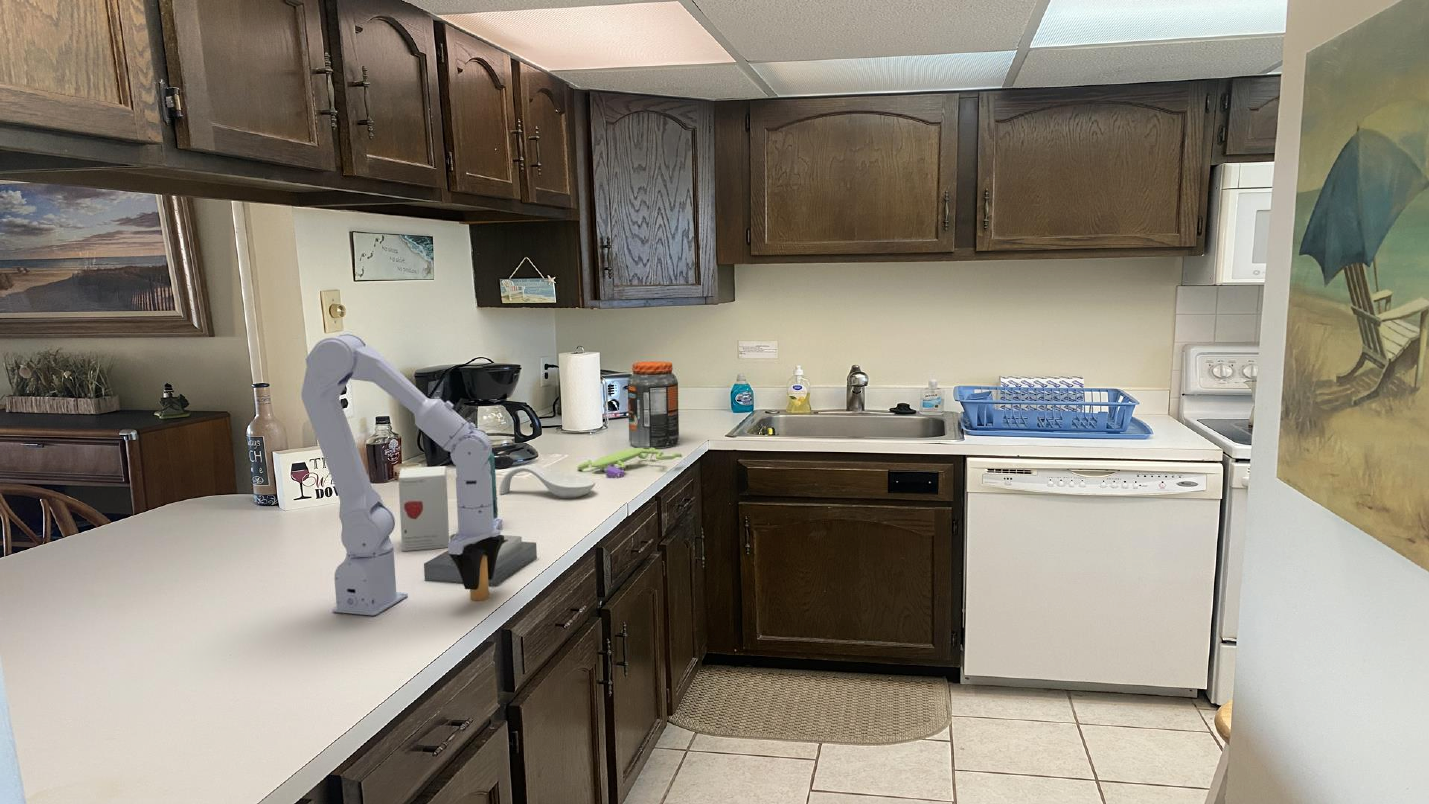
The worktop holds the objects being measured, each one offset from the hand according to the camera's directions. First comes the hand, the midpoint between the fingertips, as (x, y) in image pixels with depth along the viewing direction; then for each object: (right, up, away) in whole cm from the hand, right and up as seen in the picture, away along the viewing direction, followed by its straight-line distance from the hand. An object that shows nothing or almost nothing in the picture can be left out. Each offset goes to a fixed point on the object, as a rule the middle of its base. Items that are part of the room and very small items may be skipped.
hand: (479, 583), depth 152 cm
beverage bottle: (-10, +3, +44) cm, 45 cm away
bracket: (-1, +3, +15) cm, 15 cm away
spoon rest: (-2, +7, +72) cm, 72 cm away
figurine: (+16, +11, +100) cm, 102 cm away
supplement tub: (+20, +16, +135) cm, 138 cm away
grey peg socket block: (-3, 0, +15) cm, 16 cm away
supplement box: (-19, +1, +32) cm, 37 cm away
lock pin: (0, -2, 0) cm, 2 cm away
